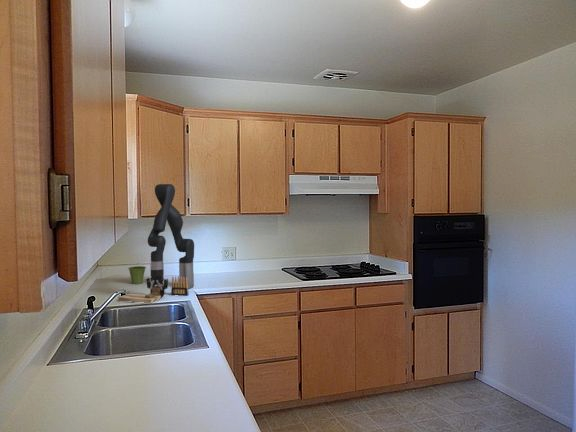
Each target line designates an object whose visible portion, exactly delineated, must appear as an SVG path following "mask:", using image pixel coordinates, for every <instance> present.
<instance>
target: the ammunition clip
mask: <svg viewBox="0 0 576 432" xmlns="http://www.w3.org/2000/svg"><path fill="white" fill-rule="evenodd" d="M170 293H171V296H175V295H178V296H179V297H182V296H183V297H188V296H189V289H188V281H187V277H186V280H185V278H184V277H183V283H182V277H181V278H180V281H179V275H178V276H176V275H175V276H172V277H171V292H170Z"/></svg>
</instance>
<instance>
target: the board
mask: <svg viewBox="0 0 576 432" xmlns="http://www.w3.org/2000/svg"><path fill="white" fill-rule="evenodd" d="M145 295H146V294H143V293H142V294H141V293H140V294H139V293H127V294H124V295H122V296H118V297H117V299H118V300H117V301H118V302H119V301H132V302H144V303H152V304H154V303H153V302H155V301H157V300H159V301H161V300H162V299H161V296H157V295H156V296H153V297H151V298H145ZM160 299H161V300H160ZM157 302H158V301H157ZM144 303H143V304H144ZM155 303H156V302H155Z"/></svg>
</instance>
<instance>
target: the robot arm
mask: <svg viewBox="0 0 576 432" xmlns="http://www.w3.org/2000/svg"><path fill="white" fill-rule="evenodd" d="M175 193H176V188H175V185H173V184H171V183H158V184H156V185H155V187H154V194H155V196H156V199H157V201H158V203H159V204H160V208H159V210H158V211H157V213H156V214H155V217H154V221H153V226H152V229H151V230H150V233H149V235H148V237H147V243H148V246H149V247H151V248H152V247H153V248H156V249H155V250H153V251H151V252H150V277H147V278H146V279H145V280H146V287H147V289H149V290H150V291H149V292H150V293H152V287H154V286H157V285H158V286H159V287H160V289H161V296H163V297H164V296H165V293H166V292H165V290H166V289H168V286H169V279H168V278H164V273H165V271H164V252H165V247H166V243H167V241H166V238H165V237H164V236H163V235H160V233H163V232H165V230H166V226H167V225H166V224H167V223H168V226H169V229H170V231H171V234H172V237H173V241H174V245H175V248H176V250H177V252H180V253H185V255H184V256H183V257H179V260H178V264H179V265H178V268H179V271H178V273H179V275H178V276H179V281H180V278H181V277H182V283H183V277H184V278H185V280H186V277H187V281H188V290H190V289H193V288H194V287H195V282H194V281H195V274H194V259H195V258H194V257H195V243H194V240H193V239H192V238H183V235H182V233H181V232H182V228H183V225H184V221H183V218H182V215H181V213H180V211H179V210H178V209H177V208H176V207H175V206H174V205H173V201H174V198H175V195H176V194H175ZM150 293H149V294H150Z"/></svg>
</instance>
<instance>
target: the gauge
mask: <svg viewBox="0 0 576 432" xmlns="http://www.w3.org/2000/svg"><path fill="white" fill-rule="evenodd" d="M144 295H145V298H151V297H153V296H156V295H157V296H161V289H160V287H159V285H155V286H154V287H152V293H148V294H144ZM162 297H163V298H164V296H161V298H162ZM163 298H162V299H163Z"/></svg>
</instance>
